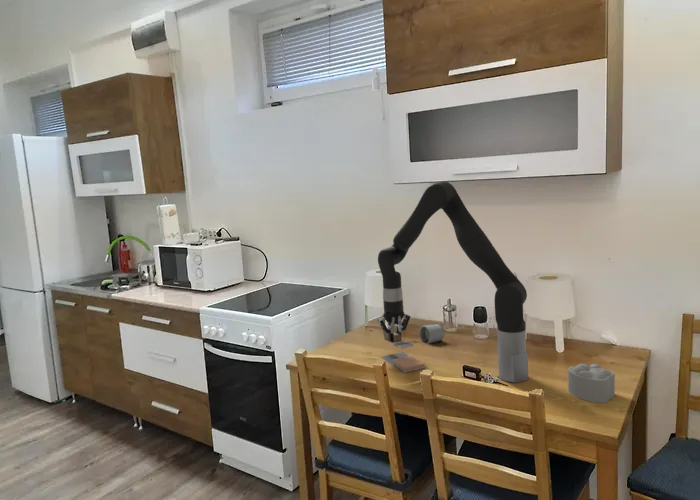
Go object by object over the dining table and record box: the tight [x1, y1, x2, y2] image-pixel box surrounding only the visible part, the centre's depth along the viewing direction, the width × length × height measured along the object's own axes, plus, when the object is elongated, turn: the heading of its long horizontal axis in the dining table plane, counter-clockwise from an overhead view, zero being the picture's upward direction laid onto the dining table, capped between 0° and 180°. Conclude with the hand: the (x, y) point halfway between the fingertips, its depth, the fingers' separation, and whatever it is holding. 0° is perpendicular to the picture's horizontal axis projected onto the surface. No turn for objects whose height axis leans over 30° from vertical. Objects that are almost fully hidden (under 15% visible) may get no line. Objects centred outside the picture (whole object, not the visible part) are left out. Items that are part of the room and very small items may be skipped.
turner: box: [382, 330, 414, 349], centre depth 205 cm, size 18×5×4 cm, turn 21°
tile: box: [393, 355, 426, 372], centre depth 198 cm, size 2×8×10 cm
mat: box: [380, 351, 429, 374], centre depth 202 cm, size 20×10×1 cm, turn 22°
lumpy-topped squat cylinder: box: [567, 363, 616, 404], centre depth 165 cm, size 10×13×9 cm
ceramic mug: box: [419, 323, 445, 344], centre depth 226 cm, size 11×8×8 cm
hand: (395, 341), depth 207 cm, fingers closed on turner, 2 cm apart
